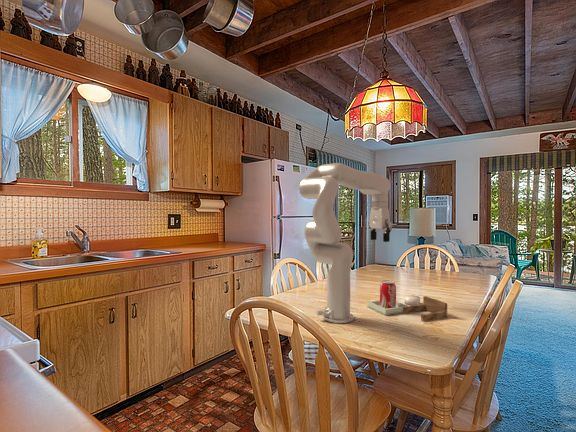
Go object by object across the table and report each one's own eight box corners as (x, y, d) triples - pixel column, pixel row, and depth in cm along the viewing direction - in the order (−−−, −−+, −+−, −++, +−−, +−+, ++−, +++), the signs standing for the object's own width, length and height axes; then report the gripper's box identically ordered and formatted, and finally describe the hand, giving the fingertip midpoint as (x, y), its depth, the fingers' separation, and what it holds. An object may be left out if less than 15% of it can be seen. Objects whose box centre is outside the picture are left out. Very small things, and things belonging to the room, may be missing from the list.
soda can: (385, 311, 145) (385, 283, 144) (376, 306, 151) (376, 280, 151) (399, 309, 147) (399, 282, 147) (389, 305, 154) (390, 279, 153)
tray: (385, 315, 141) (385, 309, 141) (367, 307, 153) (367, 301, 153) (409, 312, 146) (409, 306, 146) (389, 304, 158) (389, 298, 158)
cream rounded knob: (411, 307, 154) (412, 299, 154) (401, 303, 160) (401, 295, 160) (423, 305, 157) (423, 298, 157) (412, 301, 163) (412, 294, 163)
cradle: (422, 321, 134) (423, 306, 134) (402, 312, 145) (402, 299, 145) (447, 317, 139) (447, 303, 139) (425, 309, 150) (425, 296, 150)
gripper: (362, 205, 165) (362, 239, 166) (385, 205, 149) (385, 242, 150) (375, 205, 168) (374, 238, 168) (398, 205, 152) (398, 242, 152)
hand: (379, 240), depth 159 cm, fingers open, 9 cm apart
